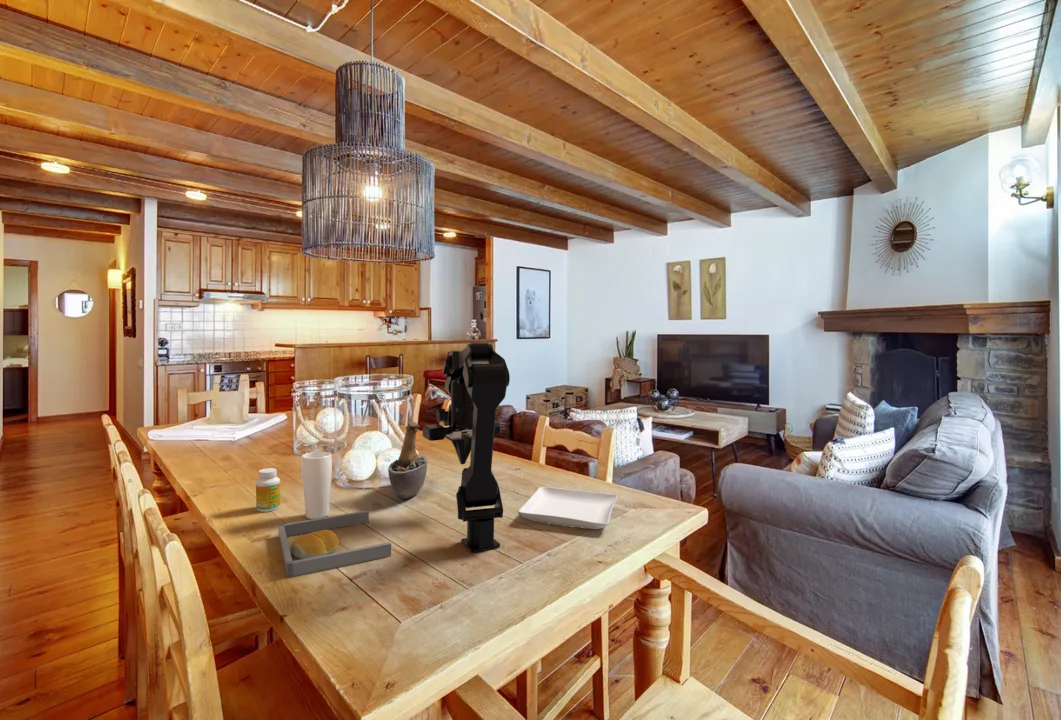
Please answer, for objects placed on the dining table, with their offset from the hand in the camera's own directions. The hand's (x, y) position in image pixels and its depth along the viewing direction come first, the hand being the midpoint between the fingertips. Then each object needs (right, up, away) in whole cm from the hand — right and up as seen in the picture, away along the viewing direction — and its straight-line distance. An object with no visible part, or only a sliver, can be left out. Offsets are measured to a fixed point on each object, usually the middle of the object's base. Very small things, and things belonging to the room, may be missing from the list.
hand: (462, 463), depth 129 cm
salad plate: (+27, -13, 0) cm, 30 cm away
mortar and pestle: (-16, -11, +13) cm, 24 cm away
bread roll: (-27, -14, -22) cm, 38 cm away
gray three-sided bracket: (-24, -13, -20) cm, 34 cm away
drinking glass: (-34, -12, -4) cm, 37 cm away
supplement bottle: (-49, -12, +1) cm, 50 cm away
